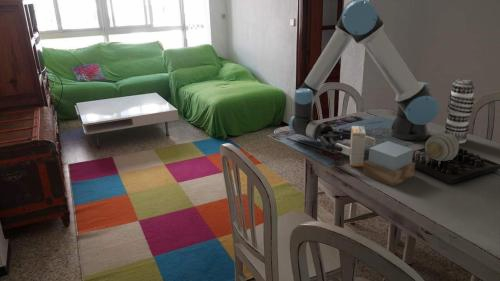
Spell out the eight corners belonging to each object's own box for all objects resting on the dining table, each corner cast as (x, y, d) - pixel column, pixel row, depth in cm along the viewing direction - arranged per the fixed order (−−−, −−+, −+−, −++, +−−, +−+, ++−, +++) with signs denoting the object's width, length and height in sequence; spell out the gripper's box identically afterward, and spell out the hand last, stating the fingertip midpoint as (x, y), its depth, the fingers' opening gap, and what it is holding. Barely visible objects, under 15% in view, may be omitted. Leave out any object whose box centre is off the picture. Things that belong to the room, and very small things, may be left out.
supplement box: (363, 167, 137) (366, 133, 133) (350, 166, 138) (352, 133, 134) (362, 158, 145) (364, 125, 140) (349, 157, 146) (351, 125, 141)
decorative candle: (437, 138, 160) (446, 80, 151) (451, 134, 164) (460, 77, 155) (457, 145, 153) (468, 84, 144) (471, 140, 157) (482, 80, 148)
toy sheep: (414, 164, 138) (418, 136, 134) (436, 151, 148) (440, 124, 144) (444, 173, 130) (449, 143, 126) (465, 159, 140) (470, 131, 136)
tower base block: (384, 165, 139) (385, 152, 137) (413, 176, 130) (415, 163, 128) (362, 174, 133) (363, 161, 131) (392, 187, 124) (393, 173, 122)
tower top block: (386, 154, 136) (387, 141, 134) (411, 162, 128) (413, 149, 127) (368, 161, 131) (369, 148, 129) (393, 171, 123) (395, 157, 121)
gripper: (340, 133, 161) (383, 147, 145) (297, 148, 148) (338, 166, 132) (341, 116, 159) (384, 129, 142) (297, 130, 145) (339, 146, 129)
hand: (362, 147), depth 137 cm, fingers open, 13 cm apart
